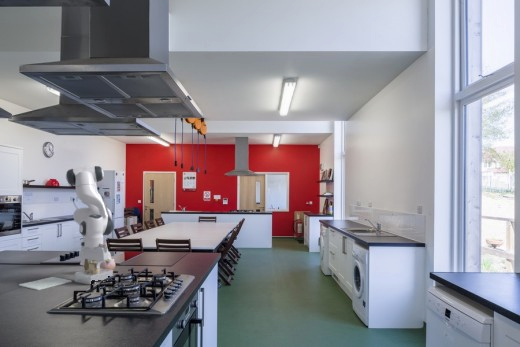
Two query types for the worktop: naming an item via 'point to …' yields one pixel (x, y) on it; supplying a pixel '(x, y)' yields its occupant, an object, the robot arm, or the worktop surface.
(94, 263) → the birch peg
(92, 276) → the aluminium socket block
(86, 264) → the squeeze bottle
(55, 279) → the sage pad
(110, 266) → the decorative fruit
